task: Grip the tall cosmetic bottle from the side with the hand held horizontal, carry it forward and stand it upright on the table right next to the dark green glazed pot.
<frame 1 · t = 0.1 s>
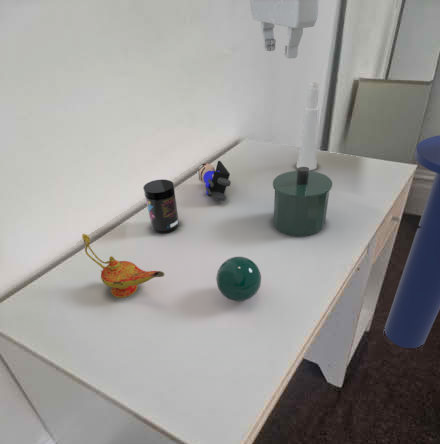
hand: (279, 54, 69), 33 cm above the table, tool pointing down, fingers open, 8 cm apart
cosmetic bottle: (306, 167, 110), on the table
character figurine: (215, 193, 101), on the table
pot: (298, 223, 86), on the table
supplement container: (166, 227, 89), on the table
sphere: (239, 296, 69), on the table
pot lid: (302, 184, 80), point 9 cm above the table, touching pot
magic lamp: (131, 291, 72), on the table
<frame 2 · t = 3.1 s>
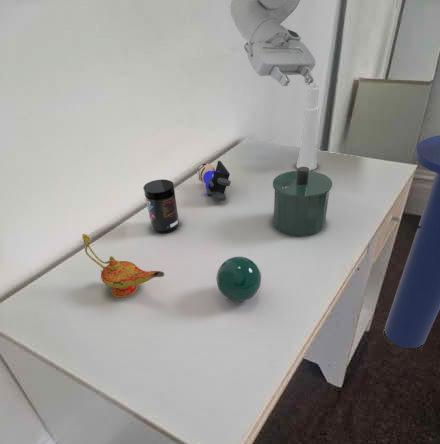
hand: (299, 83, 94), 23 cm above the table, tool tilted 55°, fingers open, 8 cm apart
nothing on the table moved.
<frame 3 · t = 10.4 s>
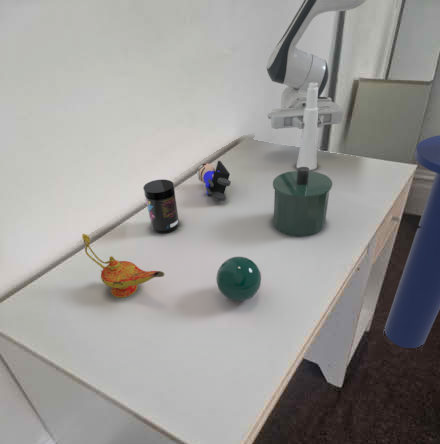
hand: (311, 125, 101), 12 cm above the table, tool horizontal, fingers closed on cosmetic bottle, 3 cm apart
cosmetic bottle: (306, 167, 110), on the table, touching gripper
everything else where it was.
when the fingers open (12 cm above the table, at t = 17.6 s): cosmetic bottle stays where it is, on the table.
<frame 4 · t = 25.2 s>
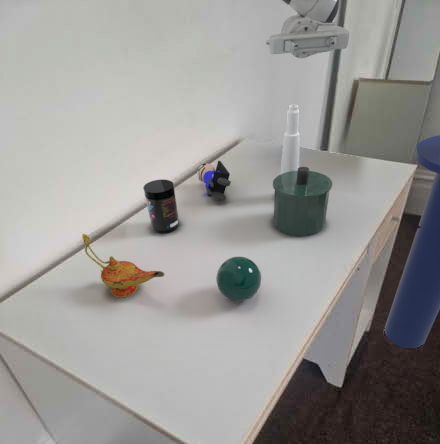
hand: (314, 46, 91), 30 cm above the table, tool horizontal, fingers open, 8 cm apart
cosmetic bottle: (287, 198, 96), on the table
everything else where it was.
at the end: cosmetic bottle inside the target area on the table beside the pot (0.3 cm from its centre), on the table; cosmetic bottle tilted 0°; the gripper is holding nothing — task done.
